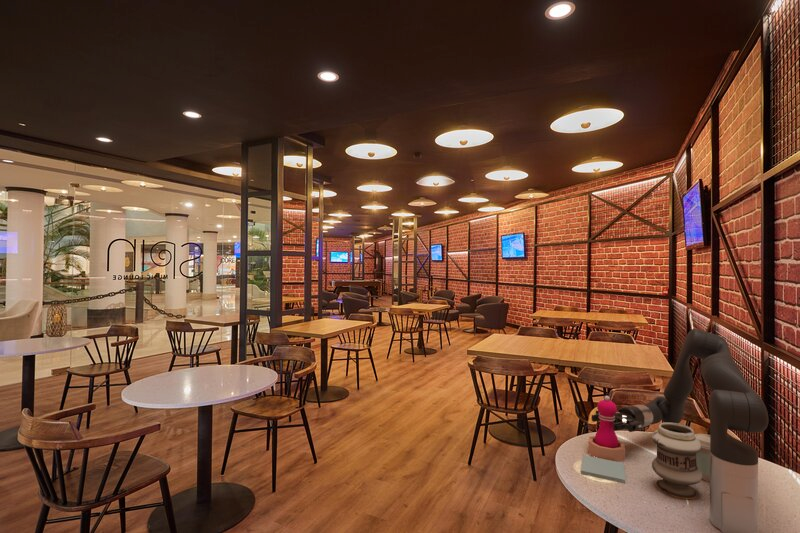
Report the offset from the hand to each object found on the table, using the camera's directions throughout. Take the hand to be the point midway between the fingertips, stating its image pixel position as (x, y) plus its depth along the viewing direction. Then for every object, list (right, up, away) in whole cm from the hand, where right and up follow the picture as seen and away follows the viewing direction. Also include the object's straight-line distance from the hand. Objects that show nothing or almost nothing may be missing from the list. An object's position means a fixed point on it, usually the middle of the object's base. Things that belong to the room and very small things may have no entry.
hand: (602, 422), depth 140 cm
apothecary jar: (+10, -11, -22) cm, 27 cm away
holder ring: (+2, -11, +1) cm, 11 cm away
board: (-5, -11, -10) cm, 16 cm away
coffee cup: (+25, -12, -15) cm, 31 cm away
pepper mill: (+2, -11, +1) cm, 11 cm away
